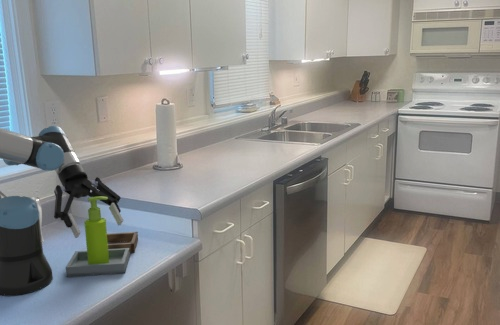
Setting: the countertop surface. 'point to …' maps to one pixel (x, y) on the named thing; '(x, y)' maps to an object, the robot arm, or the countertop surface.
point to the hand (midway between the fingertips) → (100, 229)
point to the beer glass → (39, 211)
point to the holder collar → (123, 240)
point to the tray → (82, 268)
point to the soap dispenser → (96, 234)
